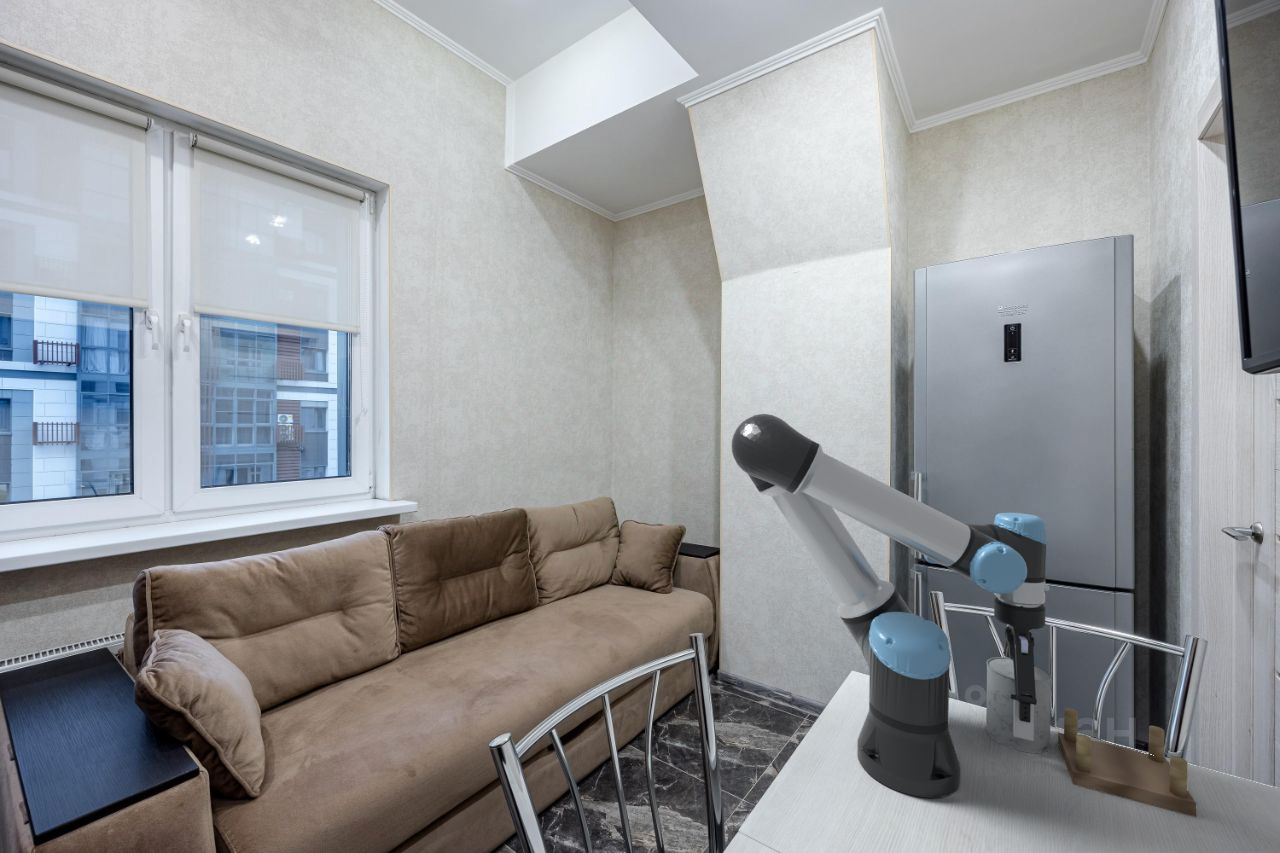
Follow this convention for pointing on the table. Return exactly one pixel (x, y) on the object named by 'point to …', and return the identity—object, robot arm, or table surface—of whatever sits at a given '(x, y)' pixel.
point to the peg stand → (1126, 768)
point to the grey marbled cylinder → (1003, 706)
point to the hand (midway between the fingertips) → (1017, 718)
